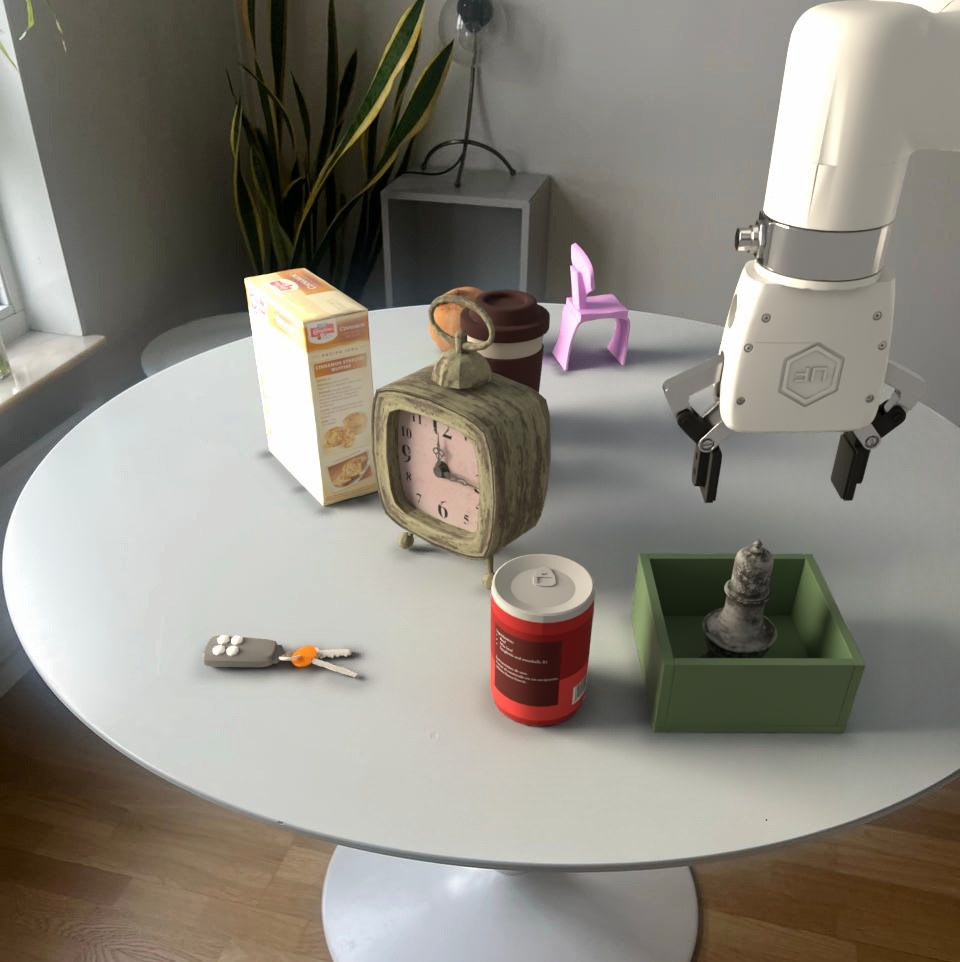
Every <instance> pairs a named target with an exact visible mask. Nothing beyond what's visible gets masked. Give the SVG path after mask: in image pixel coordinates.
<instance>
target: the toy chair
mask: <svg viewBox="0 0 960 962" xmlns="http://www.w3.org/2000/svg"><path fill="white" fill-rule="evenodd" d="M570 258H571V263H572V265H570V266H569V267H570V279H571V296H569V297H568V296H567V297H566V302H565V305H564V306H563V309H562V313H561V323H560V330H559V334H558V336H557V337H558V338H557V340H556V343H555V345H554V347H553V349H552V355H553V356H554V358H555V359H556V361H557V362H558V363H559V365H560V366H561V368H562V369H563V370H564V371H565V372H566V371H568V369H569V361H570V355H571V349H572V345H573V341H574V338H575V336H576V333H577V331H578V329H579V327H580V325H582V324H583V323H586V322H591V321H597V320H604V319H605V320H606V319H614V320H615V327H614V331H613V335H612V337H611V339H610V342H609V343H608V346H607V349H608V351H609V352H610V353H611V354H612V355H613V357H614V358H615V359H616V361H618V363H619V364H620V365H621V366H625V365H626V359H627V352H628V344H629V338H630V332H631V319H630V318H629V316H628V315H629V310H628V308H627V307H625V306H624V304H622V303H621V302H620V301H619V300H618V299H617V297H616V296H615V295H614V294H613V293H608V294H600V295H599V294H598V295H592V296H588V294H590V293H592V292H593V291H595V290H596V284H595V283H596V282H595V273H594V268H593V267H594V266H593V265H592V262H591V260H590V259H589V256H588V255H587V253H586V252H585V251H584V250H583V249H582V247H581V246H580V245H578V244H577V242H574V243H572V244H571V247H570Z"/></svg>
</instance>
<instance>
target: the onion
mask: <svg viewBox="0 0 960 962" xmlns="http://www.w3.org/2000/svg"><path fill="white" fill-rule="evenodd" d="M484 292H485V291H484V290H483V289H481V288H478V287H473V286H462V287H455V288H453V289H451V290H449V291H447V292H445V293H444V294H443V295H445V294H453V295H459V296H462V297H466V298H468V299H470V300H472V301H474V299H475V298H476V297H477V296H478V295H480V294H481V293H484ZM464 308H465V306H462V305H458V304H455V303H447V302H446V303H442V304H440V305H439V306H438V307H436V309H435V311H434V319H435V322H436V324H437V325H438V326H439V327H440V328H441V329H442V330H443V331H445V332H446V333H448V334H449V335H451V336H453V337H455V333H456V331H458V330H461V327H460V314H461V311H462V310H463V309H464ZM428 331H429V334H430V337H431V339H432V340H433V342H434V343H435V345H436V346H437V348H439V349H440V350H441V351H442V353H444V352H446V351H448V350H451V349H455V346H453V345H451V344H449V343H447V342H446V341H444V340H443V339H442V338H441V337H439V336H438V335H437V334H436V332H435V331H434V329H433V328H432V326H431V323H430V321H429V320H428Z"/></svg>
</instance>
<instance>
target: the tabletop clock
mask: <svg viewBox="0 0 960 962" xmlns="http://www.w3.org/2000/svg"><path fill="white" fill-rule="evenodd" d="M444 294H445V293H444ZM444 294H442V295H439V296H437V297H436V298H435V299H434V300H432V302H431V303H430V306H429V307H428V315H427V316H428V322H429V321H430V323H431V326H432V328H433V329H434V331H435V332H436V334H437V335H438V336H439V337H441V338H442V339H443V340H444V341H446V342H447V343H449V344H451V345H453V346H455V349H451V350H448V351H446V352H442V353H441V355H439V356H438V357H437V360H436V361H435V362H434V363H431V364H429V365H427V366H425V367H423V368H420V369H419V370H416V371H414V372H412V373H410V374H408V375H405V376H403V377H401V378H399V379H396V380H394V381H392V382H390V383H388V384H385V385H384V386H381V387H379V388H377V389H376V390H375V394H374V400H373V406H372V418H371V424H372V454H373V462H374V469H375V477H376V484H377V488H378V491H377V492H378V495H379V496H378V497H379V500H380V503H381V506H382V508H383V511H384V514H385V515H386V516H387V517H388V518H389V519H390V520H391V521H392V522H393V523H394V524H396V525H397V526H398V527H400V528H401V529H403V530H405V531H404V532H402V533H401V532H400V534H399V536H398V538H397V544H398V546H399V547H400V548H401V549H403V550H408V549H410V548H412V547H414V544H415V537H417V538H419V539H421V540H423V541H424V542H426V543H427V544H430V545H432V546H433V547H436V548H438V549H441V550H444V551H446V552H448V553H450V554H451V553H452V554H453V555H457V556H458V557H462V558H464V559H468V560H472V561H485V565H486V570H487V573H485V574H484V576H483V577H482V585H483V587H484V588H485V590H488V591H489V590H490V591H491V587H492V580H493V576H494V574H495V573H496V572H494V558H495V554H497V553H498V552H499V551H501V550H502V549H504V548H505V547H507V546H508V545H510V544H512V543H513V542H514V541H516V540H517V539H518V538H520V537H522V536H523V535H525V534H526V533H528V532H529V531H531V530H532V529H534V528H535V527H536V526H537V524H538V522H539V521H540V519H541V517H542V512H543V511H544V506H545V503H546V499H547V495H548V489H549V482H550V481H549V480H550V470H551V463H552V462H551V461H552V460H551V459H552V424H551V413H550V409H549V406H548V405H549V404H548V402H547V398H545V397H544V396H543V395H542V394H541V393H540V392H539V393H538V392H537V391H535V390H534V389H532V388H530V387H528V386H526V385H523V384H521V383H518V382H516V381H513V380H511V379H508V378H506V377H503V376H501V375H498V374H495V373H492V371H491V368H490V365H489V363H488V362H487V360H486V358H484V357H483V356H482V355H481V354H480V353H478V352H477V351H480V350H485V349H486V348H488V347H489V346H490V345H491V344H492V342H493V340H494V337H495V329H494V325H493V322H492V319H491V318H490V316H489V315H488V313H487V312H486V311H485V310H484V309H483V308H482V307H481V306H480V305H479V304H478V303H476V302H474V301H472V300H470V299H468V298H466V297H462V296H459V295H453V294H445V295H444ZM446 302H447V303H455V304H458V305H462V306H465V307H467V308H469V309H472V310H474V311H475V312H476V313H477V314H479V315H480V316H481V318H482V319H483V320H484V321H485V323H486V325H487V327H488V329H489V338H488V340H487V341H485V342H483V343H472V342H469V341H467V332H466V331H464V330H458V331H456V333H455V337H453V336H451V335H449V334H448V333H446V332H445V331H443V330H442V329H441V328H440V327H439V326H438V325H437V324H436V322H435V319H434V311H435V309H436V307H438V306H439V305H440V304H442V303H446ZM414 536H415V537H414Z"/></svg>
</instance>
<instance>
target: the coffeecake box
mask: <svg viewBox="0 0 960 962" xmlns="http://www.w3.org/2000/svg"><path fill="white" fill-rule="evenodd" d="M244 287H245V291H246V299H247V307H248V312H249V319H250V326H251V332H252V340H253V347H254V353H255V354H254V355H255V361H256V367H257V373H258V375H257V376H258V382H259V389H260V395H261V401H262V407H263V414H264V421H265V429H266V436H267V442H268V443H267V444H268V450H269V451H270V453H272V455H273V456H274V457H275V458H276V459H277V460H278V461H279V462H280V463H281V464H282V465H283V466H284V467H285V468H286V469H287V471H289V472H290V474H292V475H293V477H294V478H295V479H296V480H297V481H298V482H299V483H300V484H301V485H302V486H303V487H304V488H305V489H306V490H307V491H308V493H310V494H311V495H312V496H313V497H314V499H316V500H317V501H318V503H320V504H321V505H322V507H326V506H329V505H333V504H336V503H339V502H343V501H346V500H350V499H353V498H357V497H361V496H365V495H369V494H372V493H375V492H378V488H377V484H376V477H375V469H374V462H373V454H372V424H371V418H372V406H373V400H374V397H375V394H374V380H373V366H372V353H371V351H372V350H371V339H370V337H371V336H370V325H369V308H367V307H365V306H364V305H362V304H361V303H359V302H357V301H356V300H355V299H353V298H352V297H350V296H349V295H347V294H345V293H344V292H342V291H340V290H339V289H337V288H336V287H335V286H333V285H331V284H330V283H329V282H327V281H326V280H324V279H322V278H321V277H319V276H318V275H316V274H315V273H314V272H312V271H310V270H309V269H307V268H305V267H299V268H293V269H286V270H281V271H276V272H272V273H267V274H261V275H255V276H249V277H244Z"/></svg>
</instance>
